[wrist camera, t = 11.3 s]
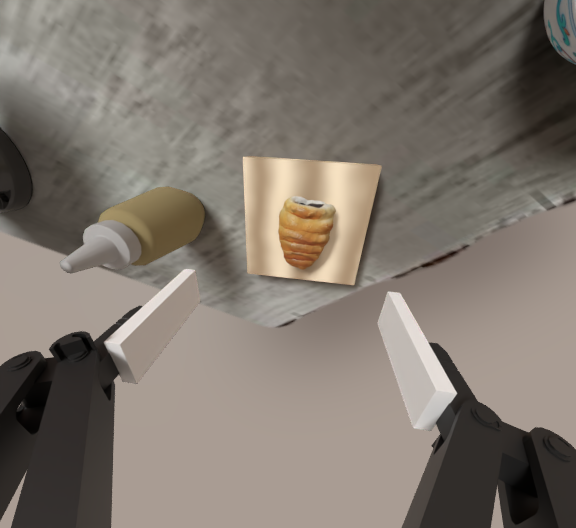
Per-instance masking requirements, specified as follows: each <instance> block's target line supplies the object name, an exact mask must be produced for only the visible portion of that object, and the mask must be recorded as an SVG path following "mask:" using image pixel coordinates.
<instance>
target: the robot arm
mask: <svg viewBox="0 0 576 528" xmlns="http://www.w3.org/2000/svg"><path fill="white" fill-rule="evenodd" d="M31 193H32V185H31V179H30V175H29V172H28V169H27V167H26V165H25V163H24V160H23V159H22V157H21V155H20V153H19V152H18V150H17V149H16V147H15V146H14V144H13V143H12V142H11V141H10V139H9V138H8V137H7V136H6V135H5V133H4V132H3V131H2V130H1V129H0V213H3V212H8V211H13V210H18V209H21V208H23V207H24V206H26V205H27V203H28V202H29V200H30V198H31ZM200 302H201V301H200V295H199V289H198V283H197V277H196V271H195V270H191V269H184V270H183V271H182V272H181V273H180V274H179V275H177V276H176V277H175V278H174V279H173V280H172V281H171V282H170V283H169V284H167V285H166V286H165V287H164V288H163V289H162V290H161V291H160V292H159V293H158V294H156V295H155V296H154V297H153V298H152V299H151V300H150V301H149V302H148V303H147V304H146V305H144V306H138V307H136V308H134V309H132V310H130V311H129V312H128V313H127V314H125V315H124V316H123V317H122V319H120V320H118V322H116V324H114V325H113V326H111V327H110V328H109V329H108V330H107V331H106V332H104V333H103V334H102V335H101V336H100V337H99V338H98V339H96V340H95V341H94V342H93V340H92V338H91V336H90V334H89V333H87V332H74V333H71V334H68V335H66V336H64V337H62V338H60V339H58V340H57V341H56V342H54V343H53V344H52V346H51V347H50V349H49V350H50V352H51V353H52V355H53V356H54V357H53V358H44V357H43V355H42V354H41V353H40V352H38V351H31V352H26V353H23V354H20V355H17V356H15V357H13V358H11V359H9V360H8V361H6V362H5V363H4V364H2V365H1V366H0V520H1V518H2V516H3V515H4V512H5V511H6V509H7V507H8V504H9V503H10V501H11V499H12V497H13V495H14V494H15V492H16V490H17V488H18V486H19V484H20V482H21V480H22V478H23V476H24V474H25V473H26V471H27V473H26V476H25V480H24V484H23V487H22V490H21V494H20V497H19V501H18V505H17V508H16V512H15V515H14V519H13V522H12V526H11V528H111V511H112V475H113V473H112V472H113V439H114V437H113V436H114V403H115V384H114V381H113V380H114V379H115V378H116V377H117V376H118V375H120V377H121V379H122V381H123V382H128V383H134V384H137V383H138V382H139V381H140V380H141V378H142V377H143V375H144V374H145V373H146V372H147V370H148V369H149V368H150V367H151V365H152V364H153V363H154V361H155V360H156V359H157V357H158V356H159V354H160V353H161V352H162V351H163V349H164V348H165V347H166V346H167V344H168V343H169V342H170V341H171V339H172V338H173V336H174V335H175V334H176V333H177V331H178V330H179V329H180V328H181V326H182V325H183V324H184V322H185V321H186V320H187V318H188V317H189V316H190V314H191V313H192V312H193V310H194V309H195V308H196V307H197V305H198V304H199V303H200ZM378 326H379V329H380V332H381V335H382V338H383V341H384V344H385V347H386V349H387V353H388V355H389V359H390V362H391V365H392V367H393V371H394V374H395V377H396V379H397V382H398V385H399V388H400V391H401V394H402V397H403V400H404V403H405V406H406V409H407V412H408V415H409V418H410V421H411V423H412V426H413V428H416V429H422V430H428V431H431V430H432V429H433V427H434V426H435V425H436V424H437V427H438V429H439V431H440V435H439V437H438V438H437V439H436V440H435V442H434V443H433V445H432V447H433V451H432V453H431V456H430V458H429V461H428V463H427V466H426V468H425V471H424V473H423V476H422V478H421V481H420V483H419V486H418V488H417V491H416V493H415V496H414V499H413V501H412V503H411V506H410V508H409V511H408V513H407V516H406V518H405V521H404V523H403V526H402V528H491V521H492V515H493V509H494V502H495V496H496V489H497V485H498V492H499V498H500V506H501V512H502V519H503V525H504V528H576V449H574V447H573V446H572V445H571V444H569V443H568V442H567V441H566V440H564V439H563V438H562V437H560V436H559V435H557V434H555V433H554V432H552V431H550V430H547V429H544V428H536V427H535V428H534V429H532V430H531V431H530V432H529V433H528V432H526V431H523V430H521V429H518V428H516V427H514V426H511V425H509V424H507V423H504V422H502V421H501V419H500V418H499V417H498V416H497V415H496V414H495V412H494V411H492V410H491V409H490V408H488V407H487V406H486V405H484V404H482V403H480V402H478V401H477V399H476V398H475V396H474V395H473V393H472V391H471V390H470V388H469V387H468V385H467V383H466V382H465V380H464V379H463V377H462V376H461V374H460V372H459V371H457V368H456V366H455V364H454V363H453V362H452V360H451V358H450V357H449V355H448V353H447V352H446V351H445V350H444V349H443V348H442V347H441V346H440V345H439V344H437V343H429V342H428V341H427V340H426V338H425V336H424V334H423V332H422V331H421V329H420V327H419V325H418V324H417V322H416V320H415V318H414V317H413V315H412V313H411V311H410V310H409V308H408V306H407V304H406V303H405V301H404V299H403V298H402V295H401V294H400V293H396V292H388V293H387V296H386V299H385V302H384V306H383V308H382V311H381V314H380V317H379V320H378ZM20 404H21V405H20ZM19 405H20V406H19ZM18 407H19V408H18Z"/></svg>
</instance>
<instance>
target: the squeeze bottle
mask: <svg viewBox="0 0 576 528" xmlns="http://www.w3.org/2000/svg"><path fill="white" fill-rule="evenodd" d="M204 219H205V211H204V208H203V205H202V204H201V202H200V201H199V199H198V198H197V197H195V196H194V195H193V194H191V193H188V192H186V191H182V190H179V189H175V188H172V187H158V188H155V189H153V190H150V191H148V192H146V193H143V194H141V195H139V196H136V197H134V198H132V199H129V200H127V201H125V202H122V203H120V204H118V205H115V206H113V207H111V208H108V209H107V210H106V211H104V212H103V213H101V215H100V218H99V220H98V223H96V224H93V225H90V226H89V227H88V228H86V229H85V231H84V234H83V241H84V245H83V246H81V247H80V248H78V249H77V250H76V251H74V252H73V253H71V254H70V255H69V256H67V257H66V258H65V259H63V260H62V261H61V262H60V266H61V268H62V269H63V270H64V271H66V272H67V273H75V272H78V271H81V270H85V269H89V268H93V267H96V266H100V265H103V266H105V267H108V268H111V269H123V268H125V267H127V266H129V265H130V264H132V265H146V264H148V263H150V262H152V261H154V260H156V259H158V258H160V257H162V256H164V255H166V254H168V253H170V252H172V251H174V250H176V249H178V248H180V247H182V246H184V245H186V244H188V243H190V242H192V241H194V240H195V239H196V238H197V236H198V235H199V233H200V231H201V228H202V226H203V223H204Z"/></svg>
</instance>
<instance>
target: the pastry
mask: <svg viewBox="0 0 576 528" xmlns="http://www.w3.org/2000/svg"><path fill="white" fill-rule="evenodd" d="M335 212H336V209H335V207H334V206H333V205H331V204H326V203H325V202H322V201H318V200H317V201H314V200H306V199H305V198H303V197H297V196H293V197H290V198H288V199H287V200H286V201H285V202H284V206H283V208H282V210H281V211H280V214H279V229H278V234H279V241H280V243H281V248H282V250H283V254H284V259H285V260H286V262H287V263H288V264H290V265H291V266H294V267H297V268H299V269H301V270H304V269H306V268H308V267H310V266H312V265H313V264H314V262H315V261H316V260H317V259H318V258H319V256H320V255H321V253H322V251H323V249H324V246H325V245H326V244H327V243H328V241H329V239H330V236H329V235H330V231H331V230H332V228H333V218H334V214H335Z"/></svg>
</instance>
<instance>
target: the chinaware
mask: <svg viewBox="0 0 576 528" xmlns="http://www.w3.org/2000/svg"><path fill="white" fill-rule="evenodd" d="M544 23H545V29H546V32H547V35H548V38H549V40H550V42H551V44H552V46H553V47H554V48H555V50H556V51H557V52H558V53H559V54H560V55H561V56H562V57H564V58H565V59H566V60H568V61H570V62H571V63H573V64H576V0H544Z"/></svg>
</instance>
